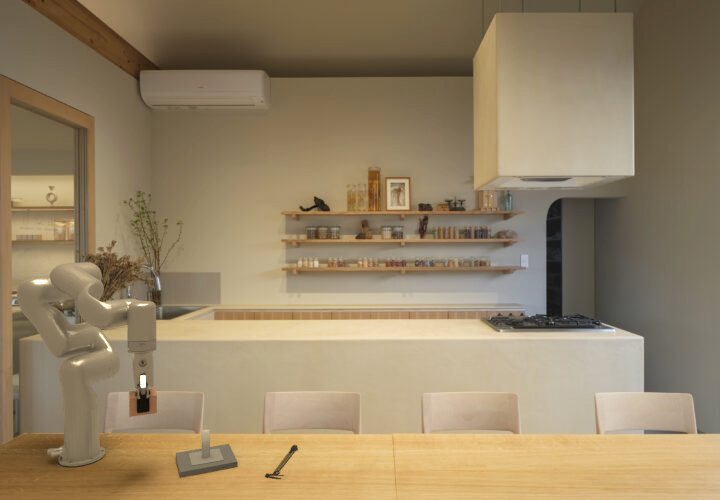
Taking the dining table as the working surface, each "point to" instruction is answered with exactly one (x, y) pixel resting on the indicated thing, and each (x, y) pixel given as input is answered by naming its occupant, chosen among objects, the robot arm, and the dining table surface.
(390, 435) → the dining table surface
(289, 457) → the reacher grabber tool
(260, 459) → the dining table surface
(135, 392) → the collar
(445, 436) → the dining table surface
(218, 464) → the post board
